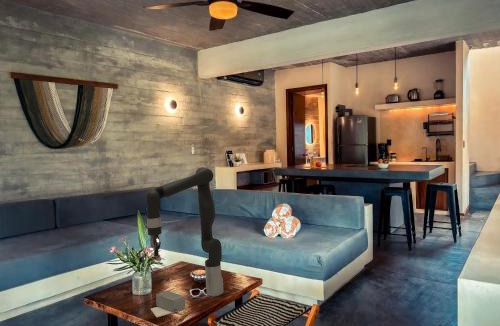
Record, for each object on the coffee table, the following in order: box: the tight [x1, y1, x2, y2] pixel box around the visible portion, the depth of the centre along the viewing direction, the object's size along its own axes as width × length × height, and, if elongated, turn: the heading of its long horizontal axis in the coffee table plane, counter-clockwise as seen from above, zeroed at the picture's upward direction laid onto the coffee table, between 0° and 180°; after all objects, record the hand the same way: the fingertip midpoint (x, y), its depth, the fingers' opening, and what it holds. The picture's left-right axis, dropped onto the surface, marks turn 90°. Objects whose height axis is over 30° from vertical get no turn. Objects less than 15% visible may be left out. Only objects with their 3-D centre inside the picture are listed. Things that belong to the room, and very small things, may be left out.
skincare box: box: [155, 290, 186, 313], centre depth 210 cm, size 8×7×16 cm
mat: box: [150, 306, 183, 318], centre depth 208 cm, size 14×12×1 cm
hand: (156, 256), depth 213 cm, fingers closed
